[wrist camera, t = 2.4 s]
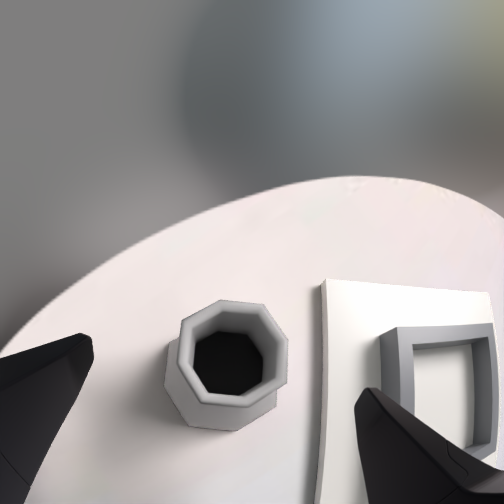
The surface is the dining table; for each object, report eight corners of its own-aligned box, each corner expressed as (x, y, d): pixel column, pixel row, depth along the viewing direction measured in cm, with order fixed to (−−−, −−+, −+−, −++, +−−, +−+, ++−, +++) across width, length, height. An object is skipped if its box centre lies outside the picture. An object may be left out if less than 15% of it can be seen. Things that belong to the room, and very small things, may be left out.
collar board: (487, 472, 11) (509, 472, 9) (307, 543, 10) (324, 562, 7) (482, 296, 22) (502, 283, 19) (320, 284, 20) (338, 264, 17)
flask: (178, 440, 13) (137, 492, 5) (154, 331, 16) (98, 257, 8) (292, 414, 15) (381, 426, 6) (262, 311, 18) (310, 224, 10)
